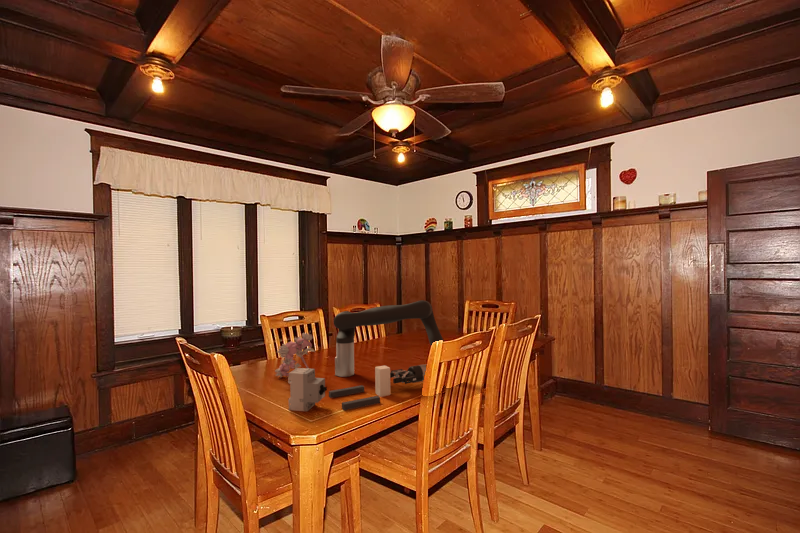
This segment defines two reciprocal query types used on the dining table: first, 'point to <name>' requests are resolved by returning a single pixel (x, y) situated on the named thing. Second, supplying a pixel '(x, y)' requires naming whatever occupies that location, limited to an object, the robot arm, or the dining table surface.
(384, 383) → the plug block
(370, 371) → the dining table surface
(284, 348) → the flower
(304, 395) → the circuit breaker
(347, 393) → the dark gray parallel rails
